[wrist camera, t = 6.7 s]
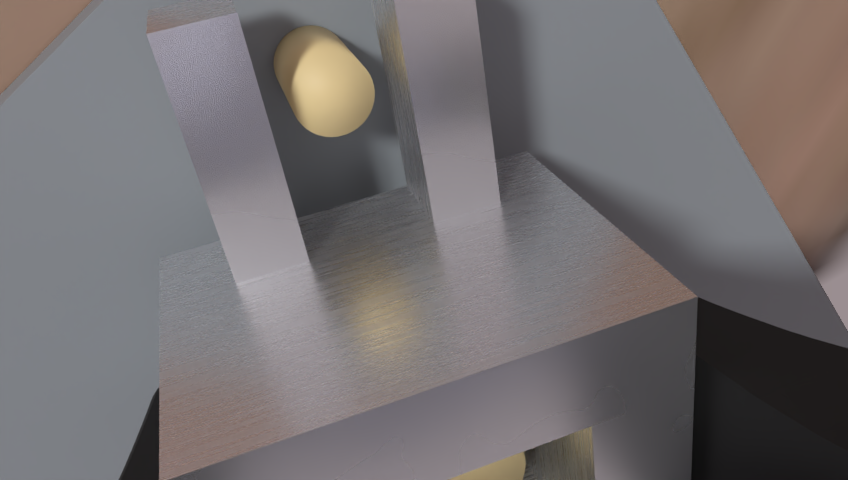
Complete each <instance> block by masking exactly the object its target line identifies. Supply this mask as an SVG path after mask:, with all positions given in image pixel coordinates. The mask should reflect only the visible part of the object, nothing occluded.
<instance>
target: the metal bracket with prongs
mask: <svg viewBox="0 0 848 480" xmlns="http://www.w3.org/2000/svg"><path fill="white" fill-rule="evenodd" d="M371 5H372V10H373V15H374V20H375V25H376V30H377V35H378V40H379V45H380V50H381V55H382V61H383V66H384V71H385V76H386V81H387V86H388V91H389V96H390V101H391V106H392V111H393V117H394V122H395V127H396V132H397V137H398V142H399V147H400V152H401V157H402V162H403V167H404V173H405V178H406V183H407V186H405V187H401V188H398V189H395V190H391V191H388V192H384V193H381V194H377V195H374V196H371V197H367V198H364V199H360V200H357V201H353V202H350V203H347V204H343V205H340V206H336V207H333V208H329V209H326V210H323V211H319V212H316V213H312V214H309V215H305V216H302V217H299V218H297V216H296V213H295V210H294V206H293V203H292V199H291V196H290V192H289V189H288V186H287V182H286V179H285V175H284V172H283V168H282V165H281V161H280V158H279V155H278V151H277V148H276V144H275V141H274V137H273V134H272V131H271V127H270V124H269V120H268V117H267V113H266V110H265V107H264V103H263V100H262V96H261V93H260V89H259V86H258V82H257V79H256V76H255V72H254V69H253V65H252V62H251V58H250V55H249V52H248V48H247V45H246V41H245V38H244V34H243V31H242V27H241V24H240V21H239V17H238V14H237V11H236V9H235V6H234V4H233V2H232V0H190V1H186V2H182V3H177V4H173V5H169V6H164V7H160V8H156V9H151V10H148V17H147V30H146V35H147V38H148V40H149V43H150V46H151V49H152V52H153V54H154V57H155V60H156V63H157V66H158V68H159V71H160V74H161V77H162V79H163V82H164V85H165V88H166V91H167V93H168V96H169V99H170V102H171V104H172V107H173V110H174V113H175V116H176V118H177V121H178V124H179V127H180V129H181V132H182V135H183V138H184V141H185V143H186V146H187V149H188V152H189V154H190V157H191V160H192V163H193V166H194V168H195V171H196V174H197V177H198V180H199V182H200V185H201V188H202V191H203V193H204V196H205V199H206V202H207V205H208V207H209V210H210V213H211V216H212V218H213V221H214V224H215V227H216V230H217V232H218V235H219V238H220V241H216V242H213V243H209V244H206V245H203V246H199V247H196V248H192V249H189V250H185V251H182V252H179V253H175V254H172V255H168V256H165V257H162V258H160V356H159V480H448V479H451V478H454V477H456V476H459V475H462V474H464V473H467V472H470V471H472V470H475V469H478V468H480V467H483V466H486V465H489V464H491V463H494V462H497V461H499V460H502V459H505V458H507V457H510V456H513V455H516V454H518V453H521V452H524V454H525V464H526V465H525V473H524V477H523V480H691V468H692V441H693V413H694V386H695V358H696V331H697V303H698V296H696V295H695V294H694V293H693V292H692V291H691V290H689V289H688V288H687V287H686V286H685V285H683V284H682V283H681V282H680V281H679V280H678V279H676V278H675V277H674V276H673V275H672V274H671V273H669V272H668V271H667V270H666V269H665V268H663V267H662V266H661V265H660V264H659V263H658V262H656V261H655V260H654V259H653V258H652V257H651V256H649V255H648V254H647V253H646V252H645V251H643V250H642V249H641V248H640V247H639V246H638V245H636V244H635V243H634V242H633V241H632V240H631V239H629V238H628V237H627V236H626V235H625V234H623V233H622V232H621V231H620V230H619V229H618V228H616V227H615V226H614V225H613V224H612V223H611V222H609V221H608V220H607V219H606V218H605V217H604V216H602V215H601V214H600V213H599V212H598V211H596V210H595V209H594V208H593V207H592V206H591V205H589V204H588V203H587V202H586V201H585V200H584V199H582V198H581V197H580V196H579V195H578V194H576V193H575V192H574V191H573V190H572V189H571V188H569V187H568V186H567V185H566V184H565V183H564V182H562V181H561V180H560V179H559V178H558V177H556V176H555V175H554V174H553V173H552V172H551V171H549V170H548V169H547V168H546V167H545V166H544V165H542V164H541V163H540V162H539V161H538V160H536V159H535V158H534V157H533V156H532V155H531V154H529V153H528V152H527V151H525V152H521V153H518V154H514V155H511V156H508V157H504V158H501V159H497V160H495V153H494V145H493V137H492V129H491V121H490V113H489V105H488V97H487V89H486V81H485V73H484V65H483V57H482V49H481V41H480V33H479V24H478V16H477V8H476V0H371Z"/></svg>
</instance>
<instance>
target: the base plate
mask: <svg viewBox="0 0 848 480" xmlns="http://www.w3.org/2000/svg"><path fill="white" fill-rule="evenodd" d="M186 1H190V0H93V1H92V2H91V3H90V4H89V5H88V6H87V7H86V8H85V9H84V10H83V11H82V12H81V13H80V14H79V15H78V16H77V17H76V18H75V19H74V20H73V21H72V22H71V23H70V24H69V25H68V26H67V27H66V28H65V29H64V30H63V31H62V32H61V33H60V34H59V35H58V36H57V37H56V38H55V39H54V40H53V41H52V42H51V44H50V45H49V46H48V47H47V48H46V49H45V50H44V51H43V52H42V53H41V54H40V55H39V56H38V57H37V58H36V59H35V60H34V61H33V62H32V63H31V64H30V65H29V66H28V67H27V68H26V69H25V70H24V71H23V72H22V73H21V74H20V75H19V76H18V77H17V78H16V79H15V80H14V81H13V82H12V83H11V84H10V86H9V87H8V88H7V89H6V90H5V91H4V92H3V93H2V94H1V95H0V480H119V478H120V476H121V473H122V471H123V469H124V467H125V464H126V462H127V460H128V457H129V455H130V452H131V450H132V448H133V445H134V443H135V440H136V438H137V436H138V433H139V431H140V428H141V425H142V423H143V420H144V418H145V415H146V413H147V410H148V407H149V405H150V402H151V400H152V397H153V395H154V394H155V392H156V390H157V389H158V388H159V356H160V258H162V257H165V256H168V255H172V254H175V253H179V252H182V251H185V250H189V249H192V248H196V247H199V246H203V245H206V244H209V243H213V242H216V241H220V238H219V235H218V232H217V230H216V227H215V224H214V221H213V218H212V216H211V213H210V210H209V207H208V205H207V202H206V199H205V196H204V193H203V191H202V188H201V185H200V182H199V180H198V177H197V174H196V171H195V168H194V166H193V163H192V160H191V157H190V154H189V152H188V149H187V146H186V143H185V141H184V138H183V135H182V132H181V129H180V127H179V124H178V121H177V118H176V116H175V113H174V110H173V107H172V104H171V102H170V99H169V96H168V93H167V91H166V88H165V85H164V82H163V79H162V77H161V74H160V71H159V68H158V66H157V63H156V60H155V57H154V54H153V52H152V49H151V46H150V43H149V40H148V38H147V35H146V30H147V17H148V10H151V9H156V8H160V7H164V6H169V5H173V4H177V3H182V2H186ZM232 2H233V4H234V6H235V9H236V11H237V14H238V17H239V21H240V24H241V27H242V31H243V34H244V38H245V41H246V45H247V48H248V52H249V55H250V58H251V62H252V65H253V69H254V72H255V76H256V79H257V82H258V86H259V89H260V93H261V96H262V100H263V103H264V107H265V110H266V113H267V117H268V120H269V124H270V127H271V131H272V134H273V137H274V141H275V144H276V148H277V151H278V155H279V158H280V161H281V165H282V168H283V172H284V175H285V179H286V182H287V186H288V189H289V192H290V196H291V199H292V203H293V206H294V210H295V213H296V216H297V218H299V217H302V216H305V215H309V214H312V213H316V212H319V211H323V210H326V209H329V208H333V207H336V206H340V205H343V204H347V203H350V202H353V201H357V200H360V199H364V198H367V197H371V196H374V195H377V194H381V193H384V192H388V191H391V190H395V189H398V188H401V187H405V186H407V183H406V178H405V173H404V167H403V162H402V157H401V152H400V147H399V142H398V137H397V132H396V127H395V122H394V117H393V111H392V106H391V101H390V96H389V91H388V86H387V81H386V76H385V71H384V66H383V61H382V55H381V50H380V45H379V40H378V35H377V30H376V25H375V20H374V15H373V10H372V5H371V0H232ZM476 8H477V16H478V24H479V33H480V41H481V49H482V57H483V65H484V73H485V81H486V89H487V97H488V105H489V113H490V121H491V129H492V137H493V145H494V153H495V160H497V159H501V158H504V157H508V156H511V155H514V154H518V153H521V152H525V151H527V152H528V153H529V154H531V155H532V156H533V157H534V158H535V159H536V160H538V161H539V162H540V163H541V164H542V165H544V166H545V167H546V168H547V169H548V170H549V171H551V172H552V173H553V174H554V175H555V176H556V177H558V178H559V179H560V180H561V181H562V182H564V183H565V184H566V185H567V186H568V187H569V188H571V189H572V190H573V191H574V192H575V193H576V194H578V195H579V196H580V197H581V198H582V199H584V200H585V201H586V202H587V203H588V204H589V205H591V206H592V207H593V208H594V209H595V210H596V211H598V212H599V213H600V214H601V215H602V216H604V217H605V218H606V219H607V220H608V221H609V222H611V223H612V224H613V225H614V226H615V227H616V228H618V229H619V230H620V231H621V232H622V233H623V234H625V235H626V236H627V237H628V238H629V239H631V240H632V241H633V242H634V243H635V244H636V245H638V246H639V247H640V248H641V249H642V250H643V251H645V252H646V253H647V254H648V255H649V256H651V257H652V258H653V259H654V260H655V261H656V262H658V263H659V264H660V265H661V266H662V267H663V268H665V269H666V270H667V271H668V272H669V273H671V274H672V275H673V276H674V277H675V278H676V279H678V280H679V281H680V282H681V283H682V284H683V285H685V286H686V287H687V288H688V289H689V290H691V291H692V292H693V293H694V294H695V295H696V296H698V297H699V298H702V299H704V300H707V301H709V302H711V303H714V304H716V305H719V306H722V307H724V308H727V309H729V310H732V311H735V312H737V313H740V314H743V315H745V316H748V317H751V318H754V319H757V320H759V321H762V322H765V323H768V324H771V325H774V326H776V327H779V328H782V329H785V330H788V331H791V332H794V333H797V334H801V335H804V336H807V337H810V338H813V339H817V340H820V341H824V342H828V343H831V344H835V345H838V346H842V347H845V348H848V331H847V329H846V328H845V326H844V324H843V322H842V321H841V319H840V317H839V316H838V314H837V312H836V310H835V308H834V307H833V305H832V303H831V302H830V300H829V298H828V296H827V295H826V293H825V291H824V289H823V288H822V286H821V284H820V283H819V281H818V279H817V277H816V276H815V274H814V272H813V270H812V269H811V267H810V265H809V264H808V262H807V260H806V258H805V257H804V255H803V253H802V252H801V250H800V248H799V246H798V245H797V243H796V241H795V239H794V238H793V236H792V234H791V233H790V231H789V229H788V227H787V226H786V224H785V222H784V220H783V219H782V217H781V215H780V214H779V212H778V210H777V208H776V207H775V205H774V203H773V201H772V200H771V198H770V196H769V195H768V193H767V191H766V189H765V188H764V186H763V184H762V182H761V181H760V179H759V177H758V176H757V174H756V172H755V170H754V169H753V167H752V165H751V163H750V162H749V160H748V158H747V157H746V155H745V153H744V151H743V150H742V148H741V146H740V145H739V143H738V141H737V139H736V138H735V136H734V134H733V132H732V131H731V129H730V127H729V126H728V124H727V122H726V120H725V119H724V117H723V115H722V113H721V112H720V110H719V108H718V107H717V105H716V103H715V101H714V100H713V98H712V96H711V94H710V93H709V91H708V89H707V88H706V86H705V84H704V82H703V81H702V79H701V77H700V75H699V74H698V72H697V70H696V69H695V67H694V65H693V63H692V62H691V60H690V58H689V56H688V55H687V53H686V51H685V50H684V48H683V46H682V44H681V43H680V41H679V39H678V37H677V36H676V34H675V32H674V31H673V29H672V27H671V25H670V24H669V22H668V20H667V19H666V17H665V15H664V13H663V12H662V10H661V8H660V6H659V5H658V3H657V1H656V0H476ZM525 465H526V464H525V454H524V452H521V453H518V454H516V455H513V456H510V457H507V458H505V459H502V460H499V461H497V462H494V463H491V464H489V465H486V466H483V467H480V468H478V469H475V470H472V471H470V472H467V473H464V474H462V475H459V476H456V477H454V478H451V479H448V480H523V477H524V473H525Z"/></svg>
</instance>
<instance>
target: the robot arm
mask: <svg viewBox="0 0 848 480" xmlns="http://www.w3.org/2000/svg"><path fill="white" fill-rule="evenodd" d="M119 480H159V388H158V389H157V390H156V392H155V394H154V395H153V397H152V400H151V402H150V405H149V407H148V410H147V413H146V415H145V418H144V420H143V423H142V425H141V428H140V431H139V433H138V436H137V438H136V440H135V443H134V445H133V448H132V450H131V452H130V455H129V457H128V460H127V462H126V464H125V467H124V469H123V471H122V473H121V476H120V478H119ZM691 480H848V348H845V347H842V346H838V345H835V344H831V343H828V342H824V341H820V340H817V339H813V338H810V337H807V336H804V335H801V334H797V333H794V332H791V331H788V330H785V329H782V328H779V327H776V326H774V325H771V324H768V323H765V322H762V321H759V320H757V319H754V318H751V317H748V316H745V315H743V314H740V313H737V312H735V311H732V310H729V309H727V308H724V307H722V306H719V305H716V304H714V303H711V302H709V301H707V300H704V299H702V298H699V297H698V303H697V331H696V358H695V386H694V413H693V441H692V468H691Z"/></svg>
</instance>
